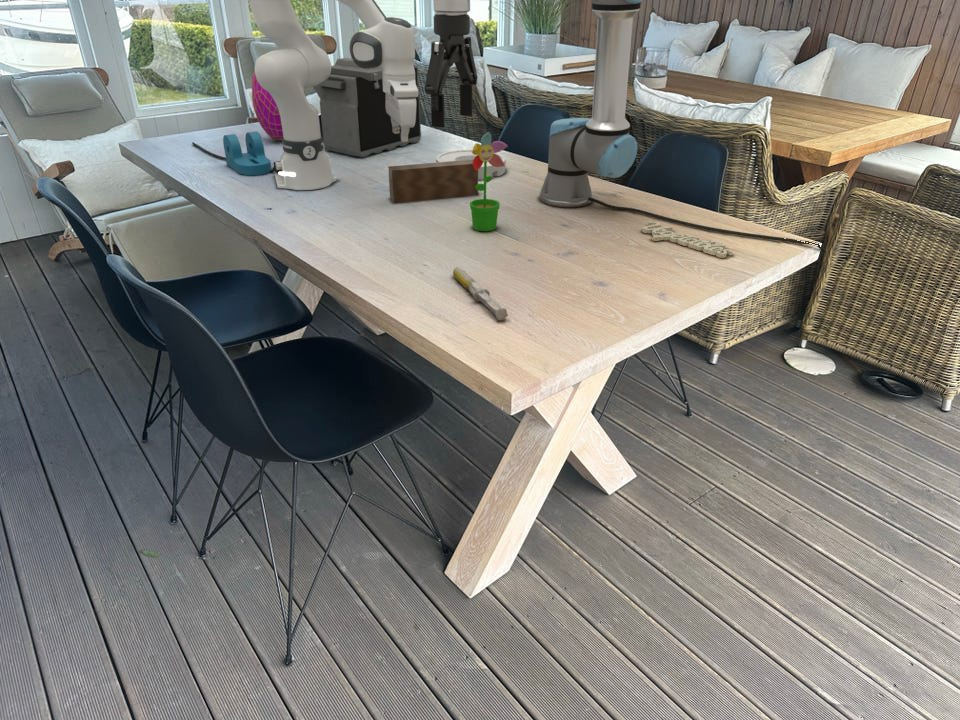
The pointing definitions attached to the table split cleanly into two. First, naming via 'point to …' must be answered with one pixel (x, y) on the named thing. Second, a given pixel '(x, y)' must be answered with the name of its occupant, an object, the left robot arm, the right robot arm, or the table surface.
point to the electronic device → (359, 111)
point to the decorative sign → (685, 240)
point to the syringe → (479, 293)
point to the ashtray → (468, 155)
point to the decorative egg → (266, 110)
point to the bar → (432, 181)
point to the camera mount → (246, 154)
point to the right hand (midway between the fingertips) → (452, 121)
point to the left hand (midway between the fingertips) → (400, 137)
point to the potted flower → (485, 208)
